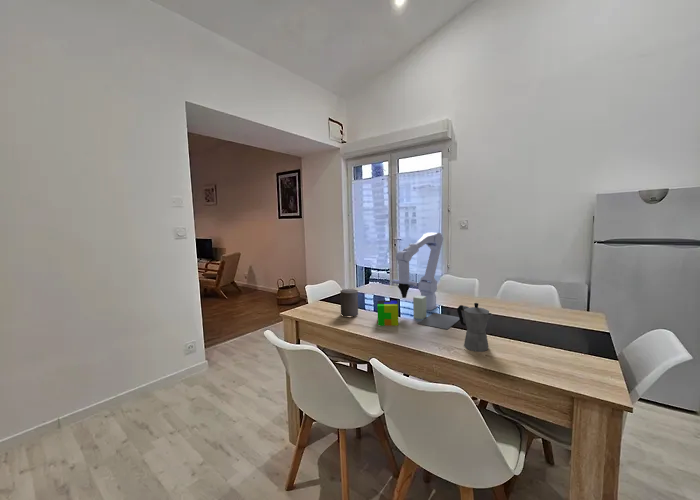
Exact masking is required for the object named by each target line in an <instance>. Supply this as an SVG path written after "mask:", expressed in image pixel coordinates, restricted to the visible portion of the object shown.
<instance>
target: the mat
mask: <svg viewBox="0 0 700 500" xmlns="http://www.w3.org/2000/svg"><path fill="white" fill-rule="evenodd" d="M458 322H460V319H459V316H454V315H449V314H443V313H437V312H433V313H431V314H430V315H427V317H426V318H424V319H421V320H420V321H418V322H417V325H422V326H426V327H432V328H435V329H441V330H445V331H446V330H449V329H450V328H452V327H453V326H454V325H455V324H457V323H458Z"/></svg>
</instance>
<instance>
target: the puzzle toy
mask: <svg viewBox="0 0 700 500" xmlns="http://www.w3.org/2000/svg"><path fill="white" fill-rule="evenodd" d="M376 308H377V326H378V325H380V326H383V327H384V326H386V327H388V326H390V327H391V326H392V327H393V326H399V303H398V301H397V300H377V307H376Z"/></svg>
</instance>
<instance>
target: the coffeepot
mask: <svg viewBox="0 0 700 500" xmlns="http://www.w3.org/2000/svg"><path fill="white" fill-rule="evenodd" d="M473 305H474V306H472V307H470V306H467V305H462V304H460V305H459V306H458V307H457V308H456V311H457V315H458V317H459V319H460V320H459V322H460V324H461V325H462V326H465V327H466V332H465V336H464V343H463V347H464V348H465V349H467V350H469V351H471V352H472V351H473V352H480V353H482V352H486V351H488V350H489V343H488V342H489V341H488V335H487V332H486V329H487V325H488V321H489V320H490V318H491V317H493V314H492V313H491V312H490V310H488V309H487V308H484V307H479V303H477V302H475V303H474V304H473ZM462 311H463V313H464V314H463V313H462ZM463 315H464V317H463ZM464 321H465V322H464Z"/></svg>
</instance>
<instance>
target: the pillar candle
mask: <svg viewBox="0 0 700 500" xmlns="http://www.w3.org/2000/svg"><path fill="white" fill-rule="evenodd" d="M358 296H359V290H357V289H356V288H355V289H354V288H344V289H341V290H340V315H341V314H342V315H343V316H356V315H358V316H359V297H358ZM356 317H357V316H356Z"/></svg>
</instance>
